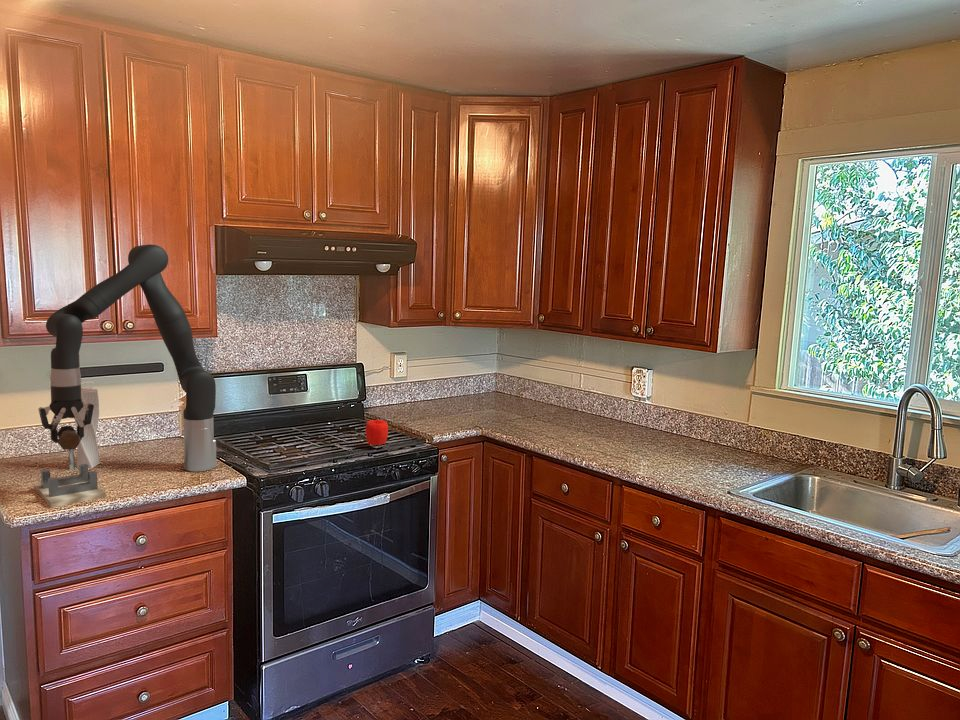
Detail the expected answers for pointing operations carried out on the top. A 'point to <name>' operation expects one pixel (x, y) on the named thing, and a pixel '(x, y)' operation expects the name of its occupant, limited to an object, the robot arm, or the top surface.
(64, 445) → the bolt
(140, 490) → the top surface
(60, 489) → the grey notched cradle
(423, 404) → the top surface
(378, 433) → the apple
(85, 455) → the skyscraper
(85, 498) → the collar board
